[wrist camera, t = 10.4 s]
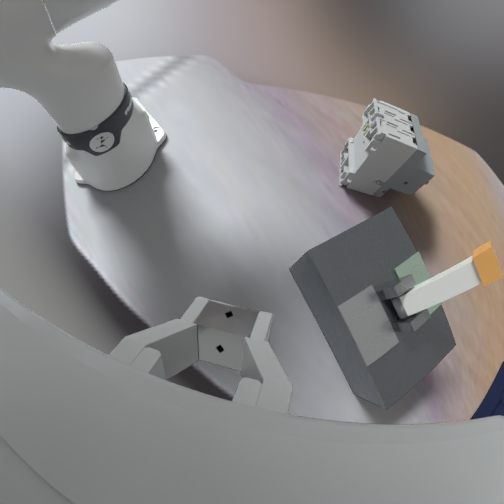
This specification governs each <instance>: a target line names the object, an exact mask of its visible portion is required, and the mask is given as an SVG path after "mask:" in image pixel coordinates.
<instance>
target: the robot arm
mask: <svg viewBox="0 0 504 504" xmlns="http://www.w3.org/2000/svg"><path fill="white" fill-rule="evenodd" d="M117 1H118V0H43V1H42V0H0V87H5V88H12V89H16V90H20V91H23V92H25V93H27V94H29V95H31V96H32V97H33V98H34V99H36V100H37V101H38V102H39V103H40V104H41V106H42V107H43V108H44V109H45V110H46V111H47V113H48V114H49V115H50V116H51V118H52V119H53V120H54V122H55V123H56V124H57V130H58V132H59V133H60V136H61V138H62V139H63V141H64V142H66V143H67V144H66V151H65V154H66V156H67V158H68V159H69V161H70V162H71V164H72V165H73V167H74V179H75V181H76V182H77V183H81V184H90V185H91V186H93V187H94V188H96V189H99V190H104V191H112V190H117V189H120V188H123V187H125V186H128V185H129V184H131V183H133V182H134V181H136V180H137V179H138V178H139V177H141V176H142V175H143V174H144V173H145V171H146V170H147V169H148V168H149V166H150V165H151V163H152V161H153V159H154V156H155V153H156V150H157V148H158V147H159V146H160V145H161V144H162V142H163V141H164V140H165V138H166V133H165V131H164V130H163V129H162V128H161V126H160V125H159V124H158V123H157V122H156V120H155V119H154V118H153V117H152V116H151V115H150V113H149V112H148V111H147V110H146V109H145V108H144V106H143V105H142V104H141V103H140V102H139V100H138V99H137V98H135V97H133V98H132V96H131V94H130V91H129V89H128V88H127V86H126V85H125V84H124V83H123V82H122V80H121V77H120V74H119V72H118V69H117V66H116V63H115V60H114V57H113V55H112V52H111V51H110V49H109V48H108V47H106V46H105V45H103V44H101V43H97V42H80V43H75V44H69V45H58V44H54V43H53V42H51V40H52V39H53V38H54V37H55V36H56V34H55V31H56V33H57V34H58V33H59V32H61V31H63V30H65V29H66V28H68V27H70V26H71V25H73V24H75V23H77V22H78V21H80V20H82V19H84V18H86V17H88V16H90V15H92V14H94V13H96V12H98V11H100V10H102V9H104V8H106V7H108V6H110V5H112V4H113V3H115V2H117ZM43 2H44V3H43ZM44 5H45V6H44ZM45 8H46V9H45ZM46 10H47V11H46ZM47 13H48V14H47ZM48 15H49V16H48ZM49 18H50V19H49ZM50 20H51V21H50ZM51 22H52V24H51ZM52 25H53V26H52ZM53 27H54V29H55V31H54V29H53ZM155 132H157V133H155ZM272 319H273V313H269V312H263V311H256V310H251V309H247V308H242V307H238V306H234V305H230V304H227V303H223V302H219V301H215V300H210V299H207V298H203V297H200V296H199V297H197V298H196V299H195V300H194V301H193V303H192V304H191V305H190V306H189V308H188V309H187V310H186V312H185V313H184V314H183V316H182V317H181V318H180V319H177V318H176V319H173V320H171V321H168V322H165V323H162V324H160V325H157V326H154V327H151V328H148V329H146V330H143V331H140V332H137V333H134V334H132V335H129V336H125V337H124V338H123V340H122V341H121V342H120V343H119V344H118V345H117V346H116V347H115V348H114V350H113V351H112V352H111V353H110V354H109V355H107V354H105V353H103V352H101V351H98V350H97V349H95V348H93V347H91V346H89V345H87V344H85V343H84V342H82V341H80V340H78V339H76V338H74V337H73V336H71V335H69V334H68V333H66V332H64V331H62V330H61V329H59V328H57V327H56V326H54V325H53V324H51V323H49V322H48V321H46V320H45V319H43V318H42V317H40V316H38V315H37V314H35V313H34V312H32V311H31V310H30V309H28V308H27V307H25V306H24V305H22V304H21V303H20V302H18V301H17V300H15V299H14V298H13V297H11V296H10V295H9V294H7V293H6V292H5V291H4V290H2V289H1V288H0V504H504V416H502V415H496V416H490V417H485V418H479V419H472V420H464V421H456V422H445V423H431V424H368V423H353V422H342V421H332V420H324V419H316V418H309V417H303V416H297V415H291V414H288V410H289V405H290V400H291V395H292V389H293V386H292V384H291V382H290V380H289V379H288V377H287V375H286V373H285V371H284V370H283V368H282V366H281V364H280V362H279V360H278V359H277V357H276V355H275V353H274V351H273V349H272V347H271V346H270V344H269V342H268V340H269V335H270V330H271V325H272ZM198 360H202V361H206V362H210V363H213V364H217V365H221V366H224V367H228V368H231V369H234V370H238V371H241V374H242V379H241V380H240V382H239V385H238V387H237V390H236V392H235V395H234V397H233V400H232V401H229V400H225V399H222V398H218V397H214V396H211V395H208V394H205V393H202V392H199V391H196V390H193V389H190V388H187V387H183V386H181V385H178V384H175V383H172V382H169V381H167V379H169V378H170V377H172V376H174V375H175V374H177V373H179V372H181V371H182V370H184V369H186V368H187V367H189V366H191V365H192V364H194V363H195V362H197V361H198Z"/></svg>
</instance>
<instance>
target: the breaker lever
mask: <svg viewBox="0 0 504 504" xmlns="http://www.w3.org/2000/svg"><path fill="white" fill-rule="evenodd" d="M501 277H503V276H502V269H501V266H500V263H499V260H498V258H497V255H496V253H495V250H494V248H493V245H492V243H491V241H489V242H487V243H486V244H484V245H482V246H481V247H479V248H477V249H475V250H474V251H473V256H471V257H470V258H468V259H466V260H464V261H462V262H461V263H459V264H457V265H455V266H453V267H451V268H449V269H448V270H446V271H444V272H442V273H440V274H438V275H436V276H434V277H432V278H430V279H428V280H426V281H424V282H422V283H420V284H418V285H416V286H414V287H411V288H409V289H408V290H407V291H405V292H404V293H403V294H402V295H400V296H399V297H395V298H392V299H391V301H392V303H393V305H394V307H395V310H396V312H397V314H398V316H399V318H400V319H402V318H405V317H407V316H409V315H412V314H415V313H417V312H419V311H422V310H424V309H427V308H429V307H431V306H434V305H436V304H438V303H441V302H443V301H445V300H447V299H450V298H452V297H454V296H456V295H458V294H460V293H462V292H464V291H467V290H469V289H471V288H473V287H475V286H477V285H479V284H480V283H482V284H483V287H484V286H486V285H488V284H490V283H492V282H494V281H496V280H498V279H500V278H501Z"/></svg>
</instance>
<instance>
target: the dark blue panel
mask: <svg viewBox="0 0 504 504" xmlns="http://www.w3.org/2000/svg"><path fill="white" fill-rule="evenodd" d="M496 415H502V416H504V361H503V363H502V366H501V368H500V370H499V372H498V374H497V376H496V378H495V380H494V382H493V384H492V386H491V388H490V389H489V391H488V393H487V395H486V397H485V398H484V400H483V402H482V404H481V405H480V407H479V408H478V410H477V411H476V412H475V414H474V415H473V417H472V418H471V420H472V419H479V418H485V417H490V416H496Z"/></svg>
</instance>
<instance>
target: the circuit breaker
mask: <svg viewBox="0 0 504 504" xmlns="http://www.w3.org/2000/svg"><path fill="white" fill-rule="evenodd" d="M368 112H369V113H368ZM362 117H363V125H362V127H361V128H360V130H359V132H358V133H357V135H356V136H355V138H354V139H353V138H348V140H347V142H346V143H345V145H344V147H343V150H342V151H341V152H340V180H339V186H342V185H345V186H346V188H349V189H352V190H356V191H359V192H363V193H366V194H369V195H373V196H376V197H379V198H381V197H382V196H383V195H384V194H385V191H388V190H389V189H393V190H396V191H399V192H402V193H405V194H407V195H412V194H413V193H414V192H416V191H417V190H418V189H419V188H421V187H422V186H423V185H424V184H428V183H429V180H430V179H431V178H433V177H434V170H433V165H432V160H431V155H430V150H429V146H428V141H427V139H425V138H423V136H422V132H421V128H420V124H419V121H418V117H417V116H415V115H413V114H411V113H409V112H407V111H404V110H402V109H400V108H398V107H395V106H393V105H390V104H388V103H385V102H383V101H380V102H379V101H377V100H376V99H375V98H374V99H373V102H372V103H371V105H370V104H369V105H368V106H367V108H366V110H365V111H364V113H363V115H362ZM347 146H348V147H347ZM342 172H343V173H342Z"/></svg>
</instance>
